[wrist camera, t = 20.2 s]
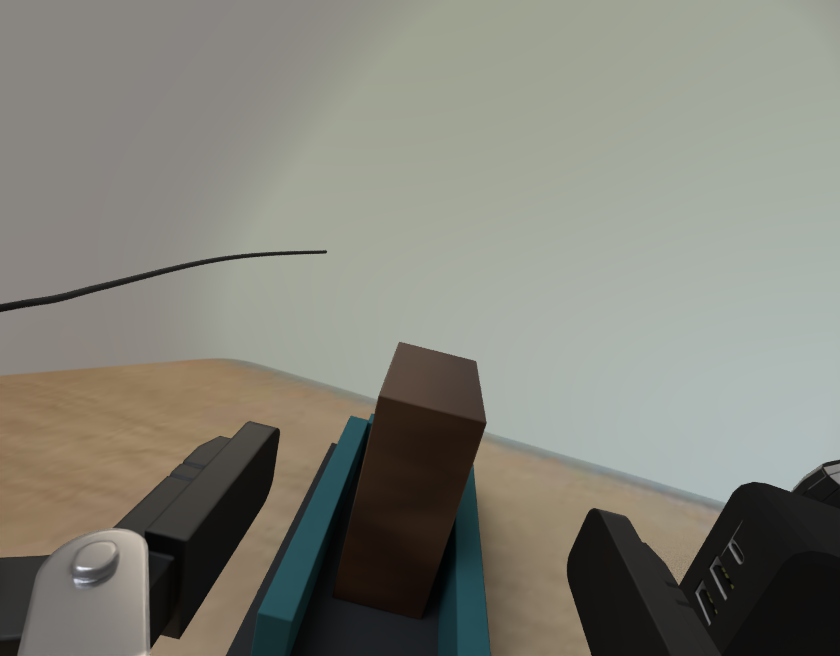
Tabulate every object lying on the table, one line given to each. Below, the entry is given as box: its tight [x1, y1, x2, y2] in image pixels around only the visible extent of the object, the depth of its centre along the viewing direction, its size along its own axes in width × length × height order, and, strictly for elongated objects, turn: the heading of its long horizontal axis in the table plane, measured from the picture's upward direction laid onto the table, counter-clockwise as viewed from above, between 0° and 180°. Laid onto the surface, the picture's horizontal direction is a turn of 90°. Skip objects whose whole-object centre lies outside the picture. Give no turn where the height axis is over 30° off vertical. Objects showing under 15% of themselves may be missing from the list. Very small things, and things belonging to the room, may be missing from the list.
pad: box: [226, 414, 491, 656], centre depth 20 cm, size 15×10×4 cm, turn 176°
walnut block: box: [332, 342, 486, 619], centre depth 19 cm, size 4×6×10 cm, turn 176°
